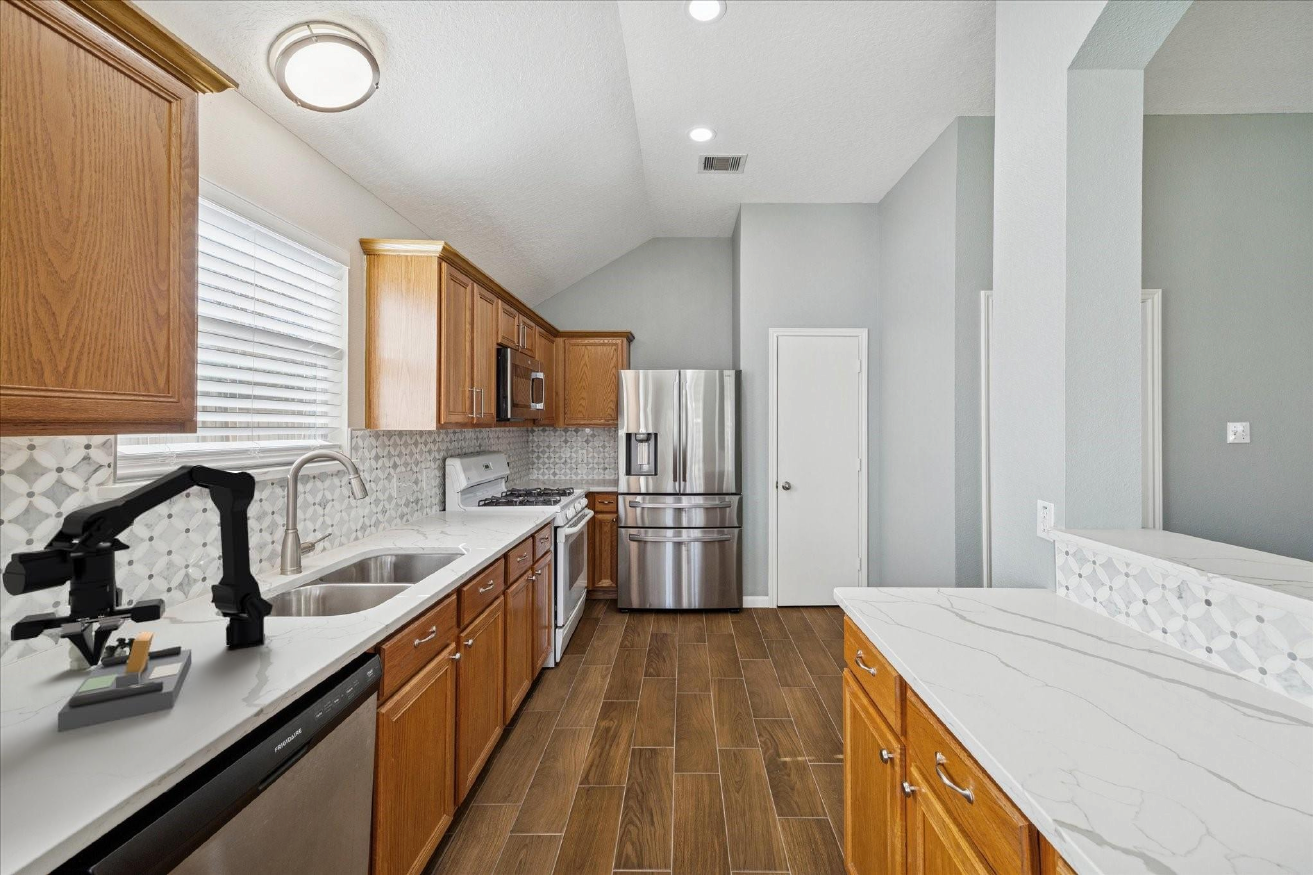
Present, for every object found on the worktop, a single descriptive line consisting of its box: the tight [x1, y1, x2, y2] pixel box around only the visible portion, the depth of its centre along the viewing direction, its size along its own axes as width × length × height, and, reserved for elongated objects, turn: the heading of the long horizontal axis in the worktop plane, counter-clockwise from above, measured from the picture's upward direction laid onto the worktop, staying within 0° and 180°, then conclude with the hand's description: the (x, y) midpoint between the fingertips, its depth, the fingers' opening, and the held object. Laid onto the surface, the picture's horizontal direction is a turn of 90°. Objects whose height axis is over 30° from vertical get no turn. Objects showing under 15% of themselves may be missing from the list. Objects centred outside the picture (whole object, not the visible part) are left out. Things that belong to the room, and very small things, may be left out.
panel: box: [57, 645, 192, 733], centre depth 101 cm, size 14×22×5 cm, turn 34°
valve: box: [68, 631, 136, 671], centre depth 112 cm, size 7×7×12 cm
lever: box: [125, 631, 155, 674], centre depth 102 cm, size 2×5×6 cm, turn 34°
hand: (94, 665), depth 99 cm, fingers closed
